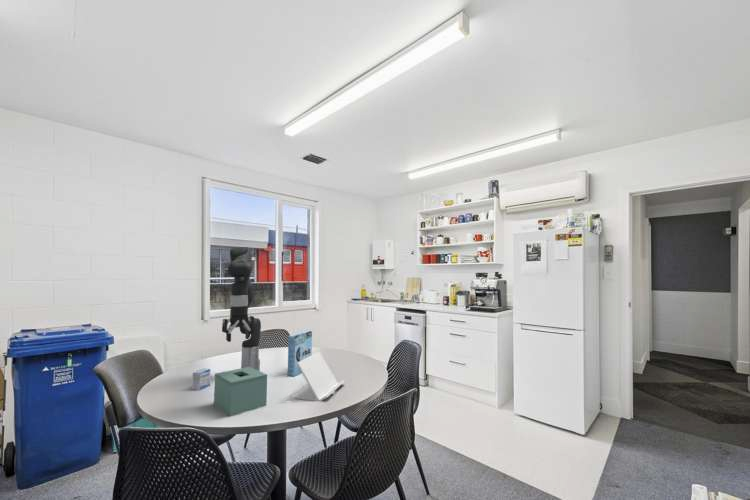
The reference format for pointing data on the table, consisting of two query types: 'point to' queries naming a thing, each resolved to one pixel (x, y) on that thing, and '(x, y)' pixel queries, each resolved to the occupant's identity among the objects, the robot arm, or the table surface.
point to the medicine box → (201, 379)
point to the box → (240, 390)
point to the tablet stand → (316, 379)
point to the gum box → (298, 350)
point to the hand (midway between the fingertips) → (238, 340)
